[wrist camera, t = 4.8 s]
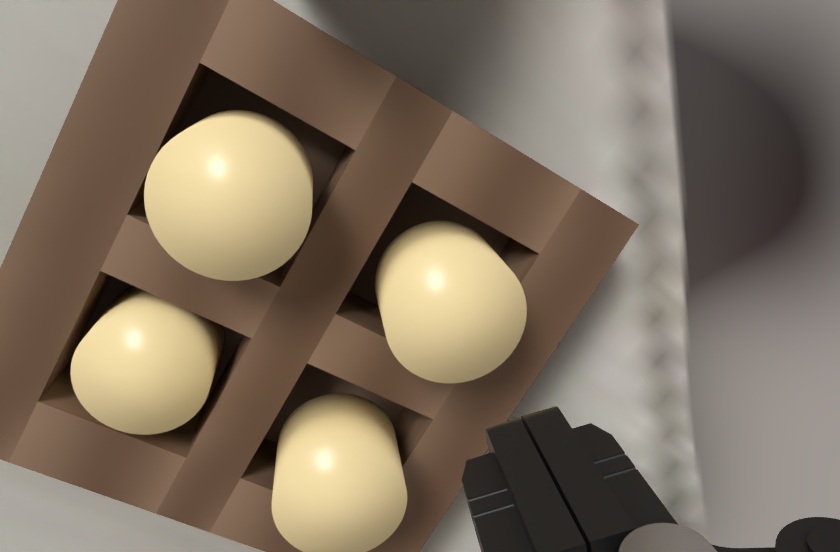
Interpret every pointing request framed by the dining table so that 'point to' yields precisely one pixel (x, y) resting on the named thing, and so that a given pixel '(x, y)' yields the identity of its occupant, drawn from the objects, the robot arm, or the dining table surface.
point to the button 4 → (448, 303)
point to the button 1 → (146, 364)
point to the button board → (287, 285)
